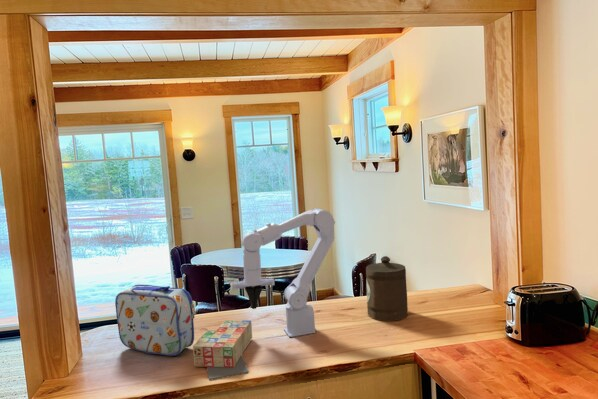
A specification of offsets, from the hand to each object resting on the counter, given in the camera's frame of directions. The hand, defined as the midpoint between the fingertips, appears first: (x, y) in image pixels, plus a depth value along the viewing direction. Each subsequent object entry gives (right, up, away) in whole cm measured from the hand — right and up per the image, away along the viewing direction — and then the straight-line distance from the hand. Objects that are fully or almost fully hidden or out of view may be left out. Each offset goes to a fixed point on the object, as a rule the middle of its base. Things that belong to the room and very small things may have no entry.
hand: (253, 307), depth 149 cm
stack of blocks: (-2, -8, -11) cm, 14 cm away
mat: (-8, -12, -14) cm, 20 cm away
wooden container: (+49, -7, +16) cm, 52 cm away
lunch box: (-31, -13, -4) cm, 33 cm away
